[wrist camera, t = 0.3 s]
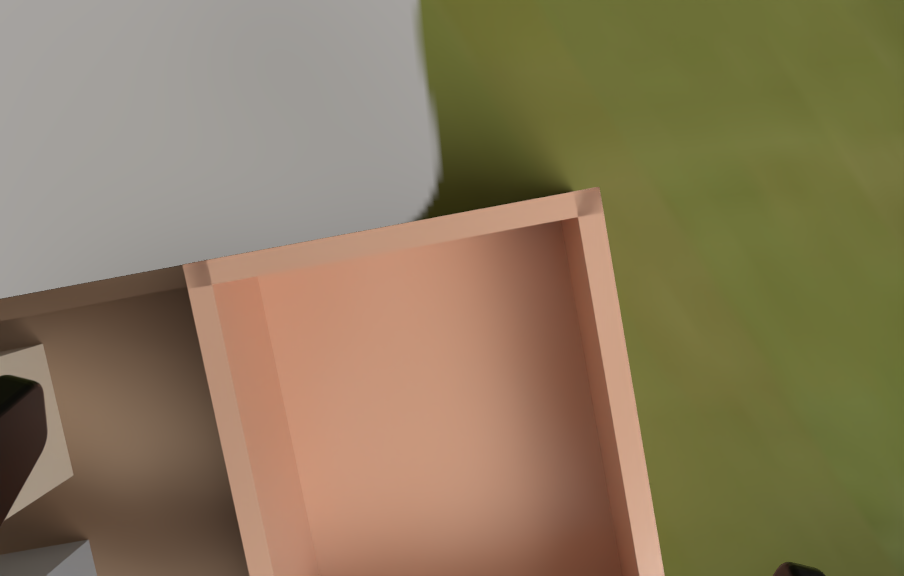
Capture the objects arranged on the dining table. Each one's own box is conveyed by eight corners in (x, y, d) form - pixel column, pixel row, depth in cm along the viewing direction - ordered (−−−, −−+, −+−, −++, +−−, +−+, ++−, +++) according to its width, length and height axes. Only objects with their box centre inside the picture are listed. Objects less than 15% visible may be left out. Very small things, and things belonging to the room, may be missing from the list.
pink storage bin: (641, 585, 24) (680, 671, 19) (318, 638, 24) (283, 734, 20) (574, 191, 23) (599, 186, 18) (238, 254, 23) (182, 264, 19)
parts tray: (324, 669, 24) (313, 705, 23) (-168, 749, 25) (-217, 790, 23) (238, 254, 23) (218, 258, 22) (-275, 350, 24) (-336, 361, 22)
